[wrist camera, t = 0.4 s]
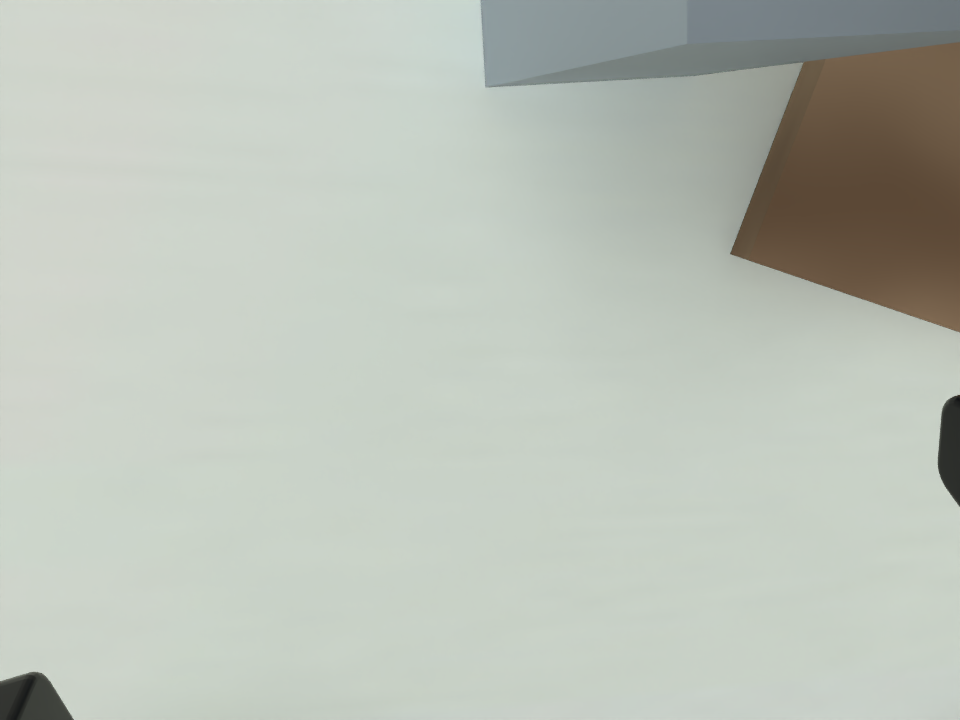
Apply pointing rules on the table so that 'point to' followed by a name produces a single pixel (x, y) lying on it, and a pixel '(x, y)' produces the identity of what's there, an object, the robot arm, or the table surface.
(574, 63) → the loose hinge leaf
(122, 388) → the table surface
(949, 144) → the hinge jig
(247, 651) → the table surface
